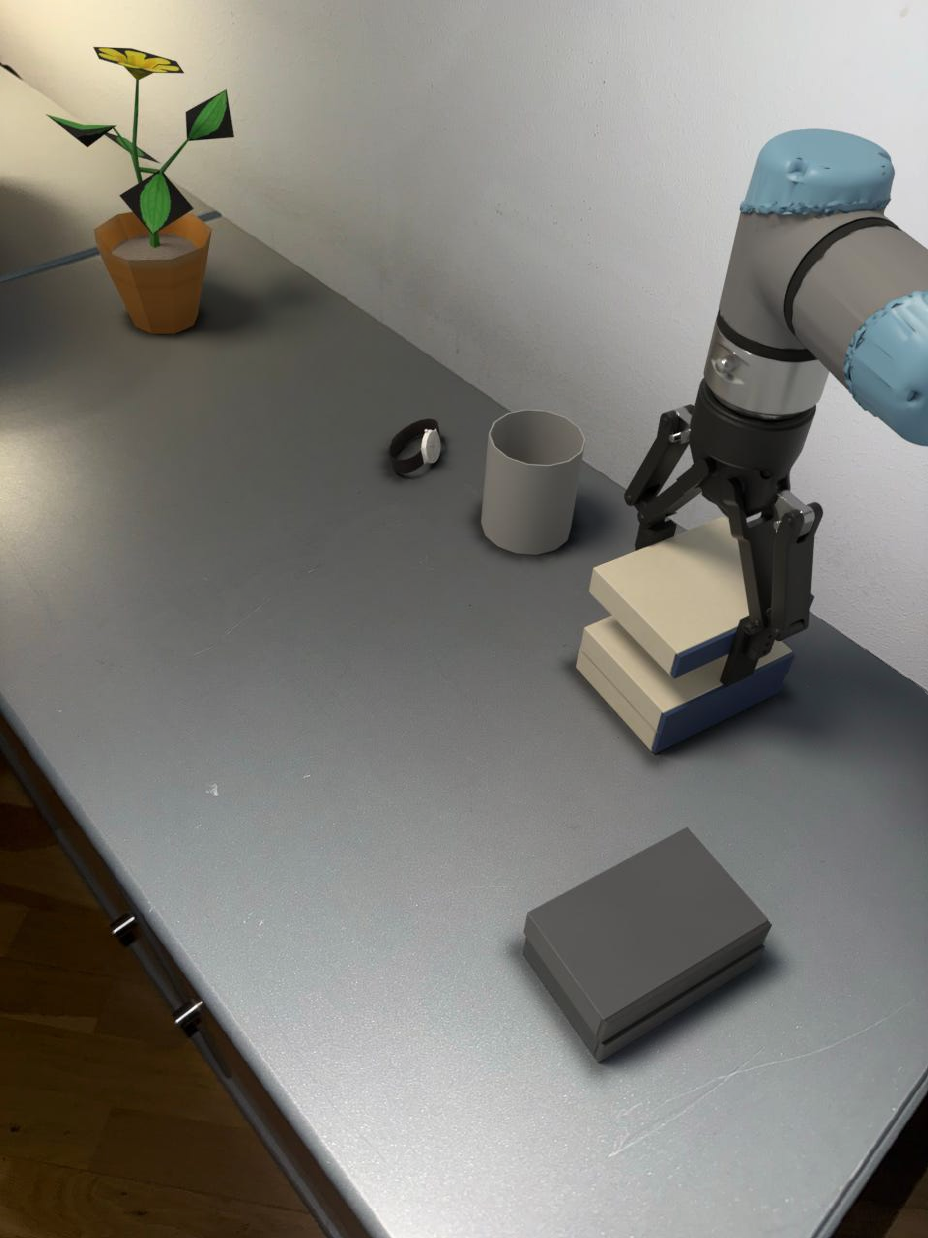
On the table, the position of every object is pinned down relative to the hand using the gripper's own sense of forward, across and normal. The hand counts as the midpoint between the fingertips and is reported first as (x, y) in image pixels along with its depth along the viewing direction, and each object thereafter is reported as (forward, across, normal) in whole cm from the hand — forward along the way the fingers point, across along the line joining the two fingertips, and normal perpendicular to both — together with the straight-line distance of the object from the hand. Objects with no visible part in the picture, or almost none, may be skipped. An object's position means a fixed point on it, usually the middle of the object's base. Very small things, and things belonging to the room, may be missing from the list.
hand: (689, 631), depth 85 cm
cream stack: (+6, 0, 0) cm, 6 cm away
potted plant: (+6, -72, -16) cm, 74 cm away
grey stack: (+6, +18, -18) cm, 26 cm away
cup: (+6, -22, 0) cm, 23 cm away
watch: (+6, -36, -4) cm, 37 cm away
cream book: (-3, 0, 0) cm, 3 cm away
